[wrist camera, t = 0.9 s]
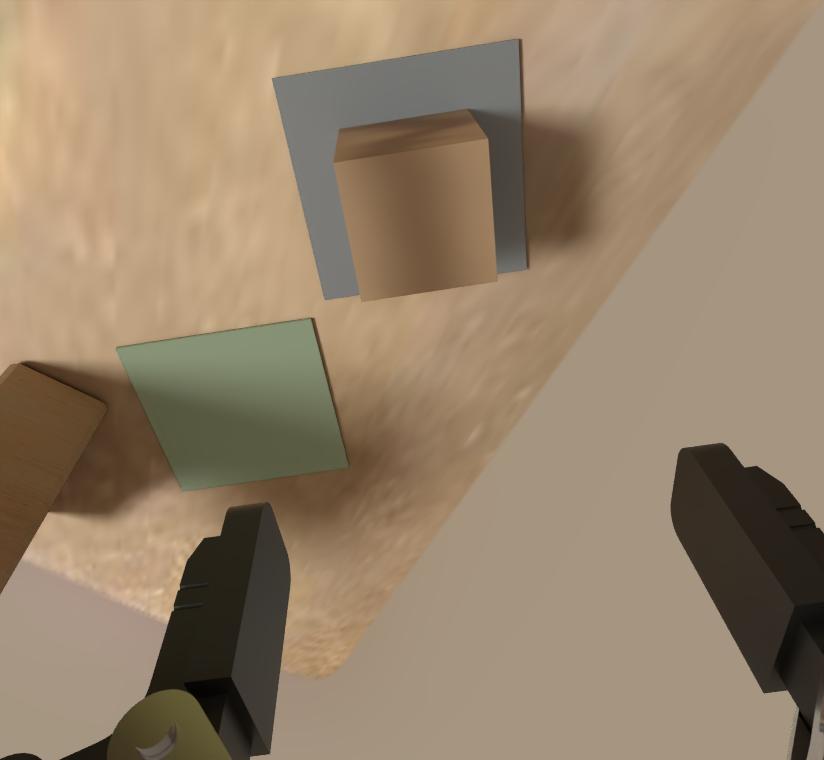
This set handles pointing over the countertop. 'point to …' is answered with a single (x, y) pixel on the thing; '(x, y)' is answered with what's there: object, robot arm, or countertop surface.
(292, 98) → the tile
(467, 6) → the countertop surface
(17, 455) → the decorative block
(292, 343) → the mat
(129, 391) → the countertop surface
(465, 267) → the walnut block
